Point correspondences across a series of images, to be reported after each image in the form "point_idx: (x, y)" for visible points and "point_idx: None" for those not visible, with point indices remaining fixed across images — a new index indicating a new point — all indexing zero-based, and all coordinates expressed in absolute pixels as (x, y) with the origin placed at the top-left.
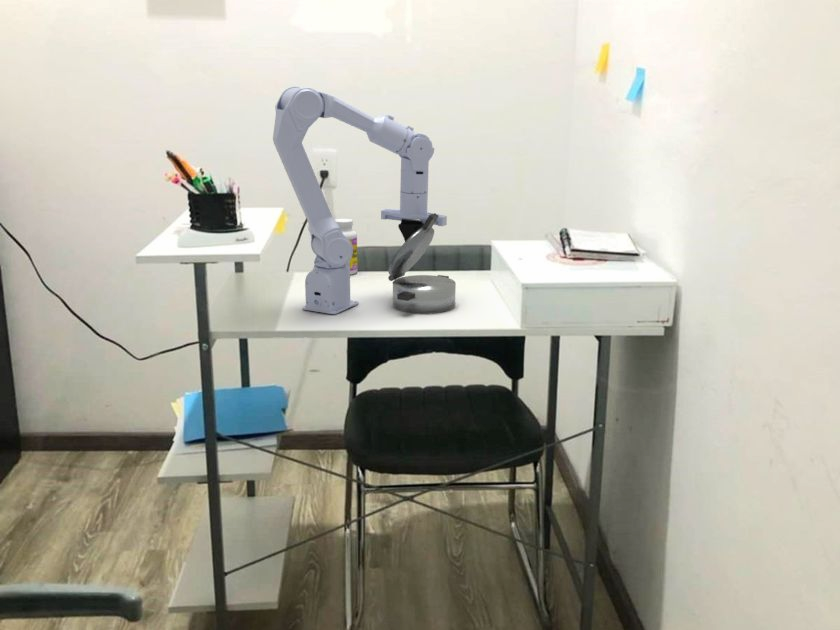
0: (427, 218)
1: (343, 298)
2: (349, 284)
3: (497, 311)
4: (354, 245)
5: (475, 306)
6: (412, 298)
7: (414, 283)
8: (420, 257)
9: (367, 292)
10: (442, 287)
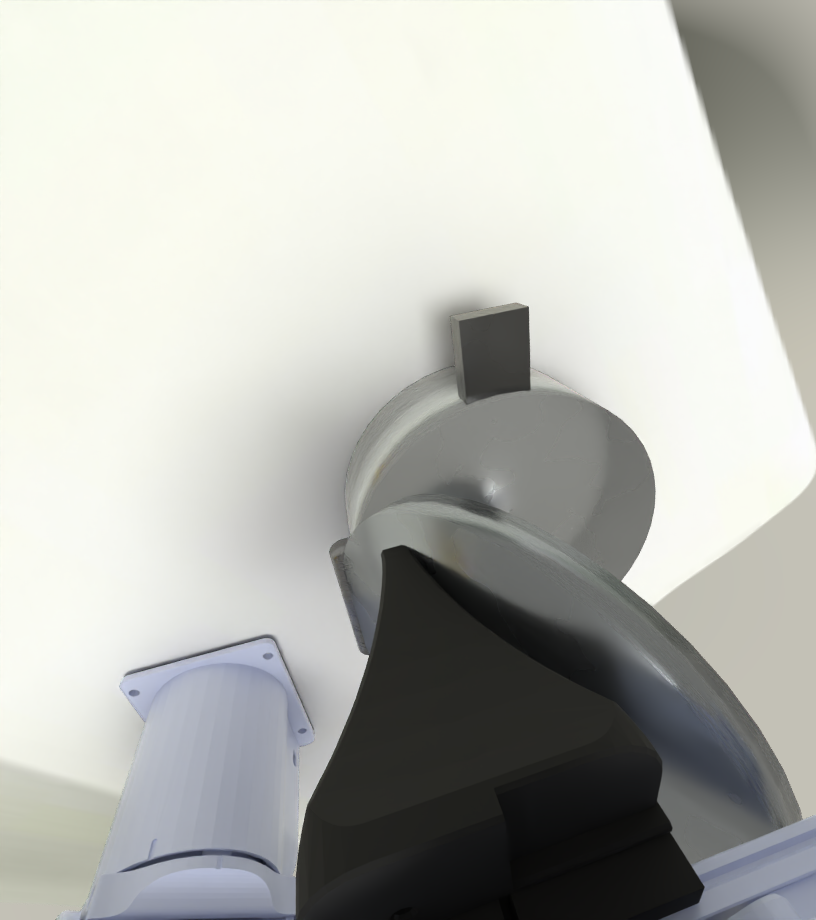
0: None
1: (286, 734)
2: (270, 755)
3: (750, 368)
4: None
5: (658, 367)
6: None
7: None
8: (420, 496)
9: (129, 511)
10: (621, 548)
